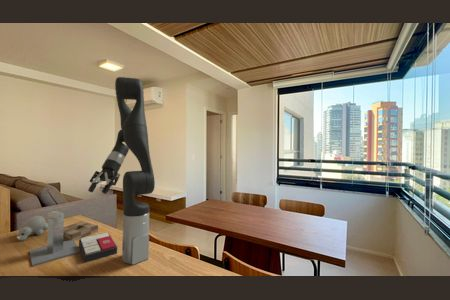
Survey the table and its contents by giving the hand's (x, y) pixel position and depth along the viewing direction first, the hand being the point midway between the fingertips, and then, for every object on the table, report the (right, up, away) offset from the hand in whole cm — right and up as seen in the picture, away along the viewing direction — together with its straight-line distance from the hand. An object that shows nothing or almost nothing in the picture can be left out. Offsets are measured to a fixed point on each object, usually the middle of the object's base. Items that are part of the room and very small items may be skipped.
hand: (96, 192), depth 95 cm
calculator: (+7, -22, -11) cm, 26 cm away
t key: (-8, -20, -14) cm, 26 cm away
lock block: (-11, -20, +3) cm, 23 cm away
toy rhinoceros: (-29, -20, -1) cm, 36 cm away
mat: (-8, -21, -14) cm, 26 cm away
